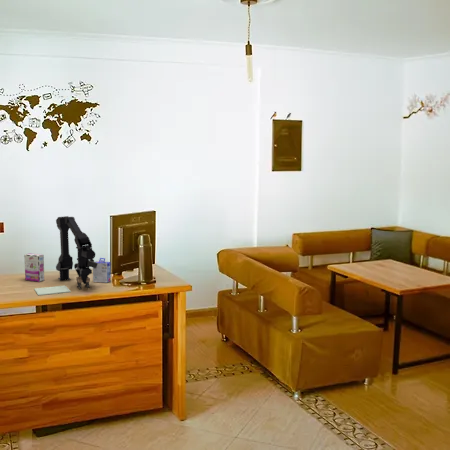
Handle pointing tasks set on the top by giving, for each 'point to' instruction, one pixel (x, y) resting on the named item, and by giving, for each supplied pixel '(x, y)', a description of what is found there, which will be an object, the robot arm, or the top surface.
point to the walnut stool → (79, 281)
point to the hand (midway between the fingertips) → (83, 282)
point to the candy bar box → (34, 267)
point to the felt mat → (52, 290)
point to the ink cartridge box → (102, 271)
